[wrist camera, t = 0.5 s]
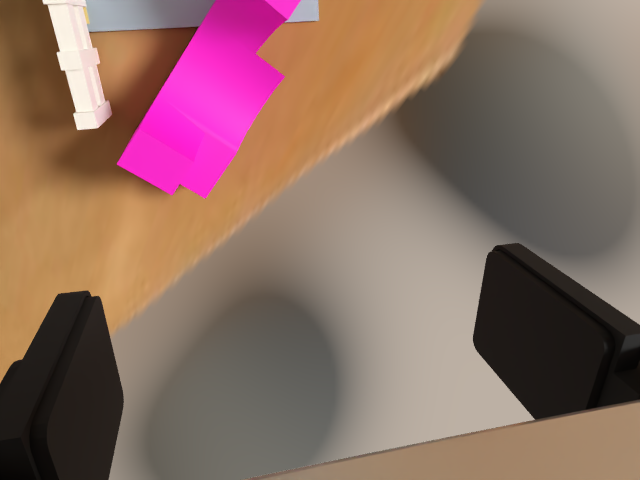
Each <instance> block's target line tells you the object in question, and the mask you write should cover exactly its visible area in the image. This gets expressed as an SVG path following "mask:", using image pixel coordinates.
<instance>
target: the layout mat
mask: <svg viewBox="0 0 640 480" xmlns="http://www.w3.org/2000/svg"><path fill="white" fill-rule="evenodd" d="M85 1H86V5H87V7H83V10H84V15H85V19H86V23H87V27H88V31H89V32H97V31H118V30H138V29H159V28H179V27H199V26H200V24H201V23H202V21H203V19H204V18H205V16H206V15H207V13H208V11H209V10H210V8H211V6H212V5H213V3H214V2H215V0H85ZM301 21H319V12H318V0H301V1H300V3H299V4H298V6H297V7H296V9H295V10H294V12H293V13H292V15H291V16H290V18H289V19H288V20H287V21H285V22H301Z"/></svg>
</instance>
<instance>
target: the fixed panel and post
mask: <svg viewBox="0 0 640 480" xmlns="http://www.w3.org/2000/svg"><path fill="white" fill-rule="evenodd" d="M42 1H43V4H46V5H48V8H49V12H50V16H51V19H52V23H53V27H54V31H55V34H56V38H57V42H58V45H59V49H60V52H57V56H58V60H59V63H60V67H61V71H62V70H65V72H66V75H67V79H68V83H69V87H70V90H71V94H72V98H73V102H74V105H75V109H76V112H75V113H73V115H74V119H75V123H76V126H77V130H83V129H95V128H99V127H100V126H101V125H102V124H103V123H104V122H105V121H106V120H107V119H108V118H109V117H110V116H111V115H112V112H111V107H110V103H109V100H106V101H105V99H104V94H103V90H102V86H101V82H100V78H99V73H98V69H97V65H96V64H99V63H100V60H99V56H98V52H97V48H92V44H91V40H90V36H89V31H88V27H87V23H86V19H85V15H84V10H83V7H87V5H86V1H85V0H42Z"/></svg>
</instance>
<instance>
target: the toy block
mask: <svg viewBox="0 0 640 480" xmlns="http://www.w3.org/2000/svg"><path fill="white" fill-rule="evenodd" d="M300 1H301V0H215V2H214V3H213V5H212V6H211V8H210V10H209V11H208V13H207V15H206V16H205V18H204V19H203V21H202V23H201V24H200V26H199V28H198V29H197V31H196V33H195V34H194V36H193V37H192V39H191V41H190V42H189V44H188V46H187V47H186V49H185V50H184V52H183V54H182V55H181V57H180V59H179V60H178V62H177V64H176V65H175V67H174V68H173V70H172V72H171V73H170V75H169V77H168V78H167V80H166V81H165V83H164V85H163V86H162V88H161V90H160V91H159V93H158V95H157V96H156V98H155V99H154V101H153V103H152V104H151V106H150V108H149V109H148V111H147V112H146V114H145V116H144V117H143V119H142V121H141V122H140V124H139V126H138V127H137V129H136V130H135V132H134V134H133V135H132V137H131V139H130V141H129V143H128V144H127V146H126V148H125V150H124V152H123V154H122V155H121V157H120V159H119V161H118V163H117V165H119V166H120V167H122V168H124V169H126V170H128V171H129V172H131V173H133V174H135V175H137V176H138V177H140V178H142V179H144V180H145V181H147V182H149V183H151V184H153V185H154V186H156V187H158V188H160V189H161V190H163V191H165V192H167V193H169V194H170V195H173V193H174V192H175V190H176V189H177V187H178V186H179V184H181V185H183V186H184V187H186V188H188V189H190V190H191V191H193V192H195V193H197V194H198V195H200V196H202V197H203V198H206V197H207V196H208V194H209V193H210V191H211V190H212V188H213V187H214V185H215V184H216V182H217V181H218V179H219V178H220V177H221V175H222V174H223V172H224V171H225V169H226V168H227V166H228V165H229V163H230V162H231V160H232V159H233V157H234V156H235V155H236V153H237V151H238V149H239V146H240V144H241V142H242V140H243V139H244V137H245V135H246V133H247V131H248V129H249V128H250V126H251V124H252V122H253V121H254V119H255V118H256V116H257V114H258V113H259V111H260V110H261V108H262V107H263V105H264V104H265V102H266V101H267V99H268V98H269V97H270V95H271V94H272V93H273V91H274V90H275V89H276V87H277V86H278V85H279V83H280V82H281V81H282V80H283V79H284V77H285V76H284V75H282V74H281V73H280V72H278V71H277V70H276V69H275V68H273V67H272V66H271V65H269V64H268V63H267V62H266V61H264V60H263V59H262V58H260V57H259V56H258V55H256V54H255V53H256V52H257V51H258V50H259V48H260V47H261V46H262V45H263V43H264V42H265V41H266V40H267V39H268V37H269V36H270V35H271V34H272V33H273V32H274V31H275V30H276V29H277V28H278V27H279V26H280V25H281V24H282V23H284V22H285V21H287V20H288V19H289V18H290V16H291V15H292V13H293V12H294V10H295V9H296V7H297V6H298V4H299V3H300Z"/></svg>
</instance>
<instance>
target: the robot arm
mask: <svg viewBox="0 0 640 480" xmlns="http://www.w3.org/2000/svg"><path fill="white" fill-rule="evenodd" d="M473 343H474V346H475V348H476V350H477V352H478V353H479V354H480V355H481V356H482V358H483V359H484V360H485V361H486V362H487V364H488V365H489V366H490V367H491V368H492V369H493V371H494V372H495V373H496V374H497V375H498V376H499V378H500V379H501V380H502V381H503V382H504V383H505V385H506V386H507V387H508V388H509V389H510V391H511V392H512V393H513V394H514V395H515V396H516V398H517V399H518V400H519V401H520V402H521V403H522V405H523V406H524V407H525V408H526V409H527V411H528V412H529V413H530V414H531V415H532V416H533V418H534V419H535V420H533V421H527V422H522V423H517V424H512V425H506V426H502V427H496V428H491V429H486V430H481V431H476V432H471V433H467V434H461V435H456V436H451V437H446V438H442V439H437V440H431V441H427V442H422V443H417V444H412V445H407V446H402V447H397V448H392V449H388V450H382V451H377V452H372V453H367V454H363V455H358V456H353V457H348V458H343V459H338V460H334V461H329V462H324V463H319V464H315V465H310V466H305V467H300V468H295V469H290V470H286V471H281V472H276V473H271V474H266V475H262V476H257V477H252V478H247V479H242V480H640V325H639V324H637V323H636V322H635V321H633V320H631V319H630V318H628V317H627V316H626V315H624V314H623V313H621V312H620V311H618V310H617V309H615V308H614V307H612V306H611V305H610V304H608V303H607V302H605V301H604V300H602V299H600V298H599V297H598V296H596V295H595V294H593V293H592V292H590V291H589V290H588V289H585V287H583V286H581V285H580V284H579V283H577V282H576V281H574V280H573V279H571V278H570V277H568V276H567V275H565V274H564V273H562V272H561V271H560V270H558V269H557V268H555V267H553V266H552V265H551V264H549V263H548V262H546V261H545V260H543V259H542V258H540V257H539V256H537V255H536V254H535V253H533V252H531V251H530V250H529V249H527V248H526V247H524V246H523V245H521V244H519V243H514V244H505V245H497V246H495V247H494V249H493V250H492V252H489V253H488V255H487V258H486V264H485V270H484V276H483V282H482V287H481V293H480V299H479V305H478V311H477V317H476V322H475V328H474V334H473ZM123 400H124V399H123V390H122V386H121V382H120V377H119V373H118V369H117V365H116V361H115V356H114V352H113V348H112V344H111V339H110V335H109V331H108V327H107V322H106V318H105V314H104V310H103V305H102V302H101V299H100V297H99V296H94V297H91V294H90V292H89V291H79V292H70V293H61V294H58V295H57V296H56V298H55V300H54V302H53V304H52V306H51V307H50V309H49V311H48V313H47V315H46V317H45V319H44V320H43V322H42V324H41V326H40V328H39V330H38V332H37V333H36V335H35V337H34V339H33V341H32V343H31V345H30V346H29V348H28V350H27V352H26V354H25V356H24V358H23V359H22V360H18V361H15V362H13V364H12V365H11V366H10V368H9V369H8V371H7V373H6V375H5V376H4V378H3V380H2V382H1V383H0V480H108V479H109V474H110V469H111V464H112V460H113V455H114V450H115V445H116V440H117V435H118V431H119V426H120V421H121V416H122V410H123V403H124V401H123Z"/></svg>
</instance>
